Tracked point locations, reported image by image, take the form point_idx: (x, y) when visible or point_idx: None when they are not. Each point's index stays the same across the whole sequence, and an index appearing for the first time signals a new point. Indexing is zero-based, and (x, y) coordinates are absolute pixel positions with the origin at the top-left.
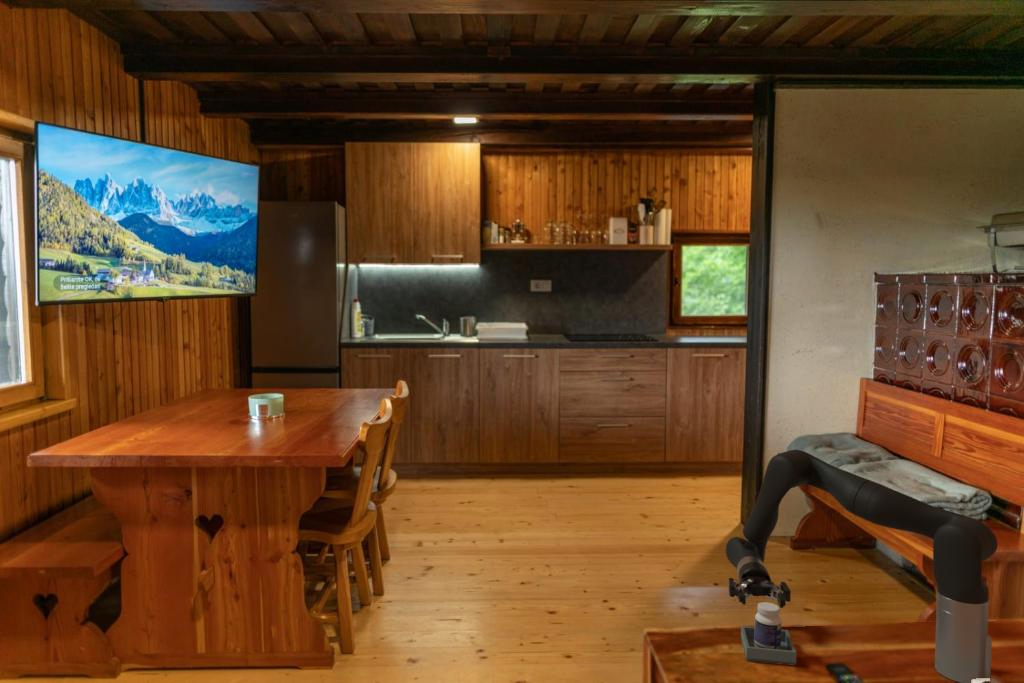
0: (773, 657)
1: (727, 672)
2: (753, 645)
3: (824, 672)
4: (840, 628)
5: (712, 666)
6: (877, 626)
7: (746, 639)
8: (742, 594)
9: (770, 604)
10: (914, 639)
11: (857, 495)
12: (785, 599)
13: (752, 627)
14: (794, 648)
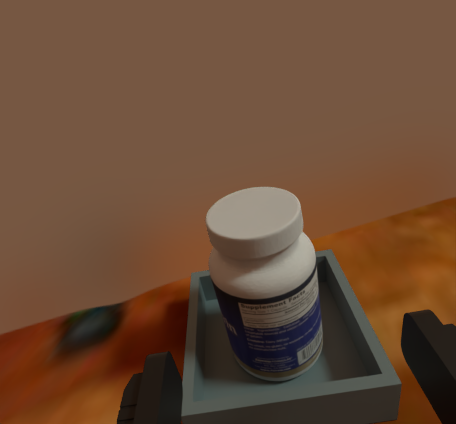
0: None
1: (363, 229)
2: (326, 348)
3: (137, 299)
4: None
5: (406, 235)
6: None
7: (343, 287)
8: (442, 327)
9: (241, 225)
10: None
11: None
12: (126, 389)
13: (344, 388)
14: (190, 289)
